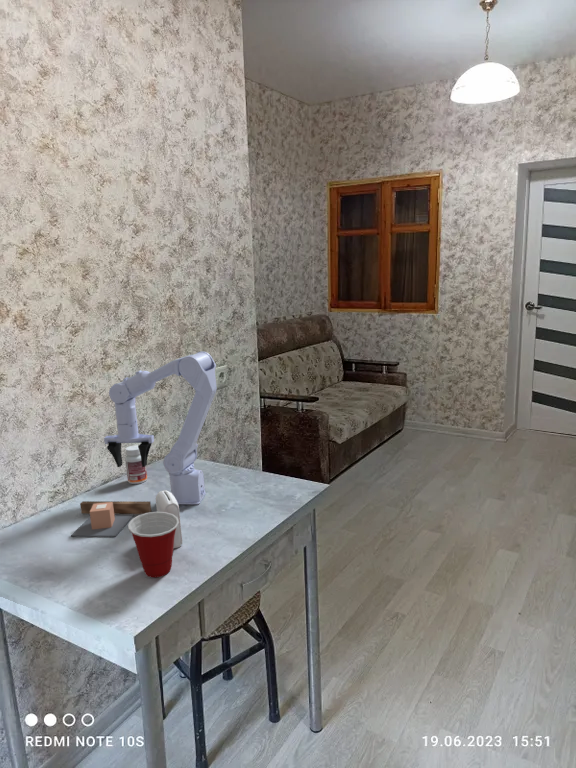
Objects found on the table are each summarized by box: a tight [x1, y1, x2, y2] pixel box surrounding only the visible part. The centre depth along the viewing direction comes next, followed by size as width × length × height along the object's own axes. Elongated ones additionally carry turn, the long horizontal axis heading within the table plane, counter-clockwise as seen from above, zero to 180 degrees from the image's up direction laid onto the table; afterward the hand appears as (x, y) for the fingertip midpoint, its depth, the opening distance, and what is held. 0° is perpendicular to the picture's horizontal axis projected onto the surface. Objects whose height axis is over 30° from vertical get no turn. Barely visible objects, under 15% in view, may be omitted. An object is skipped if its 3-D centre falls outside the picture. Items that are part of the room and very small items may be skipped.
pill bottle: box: [124, 444, 148, 485], centre depth 173 cm, size 6×6×11 cm
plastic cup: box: [127, 511, 179, 578], centre depth 119 cm, size 11×11×12 cm
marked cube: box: [89, 502, 115, 529], centre depth 143 cm, size 5×5×5 cm
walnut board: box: [79, 500, 152, 515], centre depth 151 cm, size 20×2×3 cm, turn 83°
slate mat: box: [70, 514, 135, 538], centre depth 143 cm, size 12×12×1 cm
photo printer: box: [155, 489, 183, 549], centre depth 133 cm, size 10×4×12 cm, turn 26°
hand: (132, 465), depth 160 cm, fingers open, 7 cm apart
